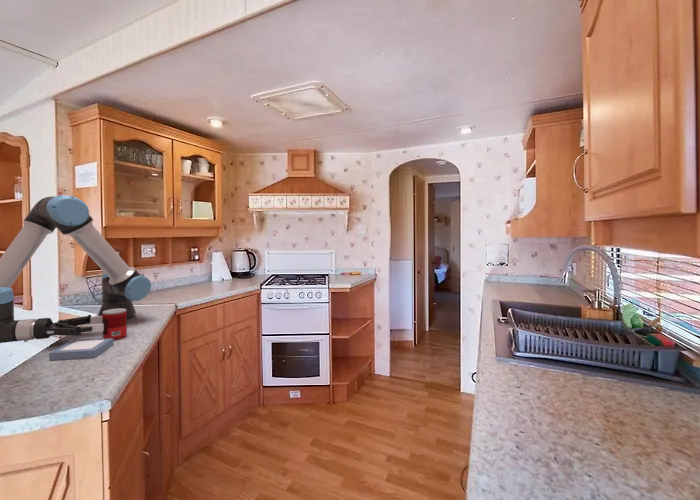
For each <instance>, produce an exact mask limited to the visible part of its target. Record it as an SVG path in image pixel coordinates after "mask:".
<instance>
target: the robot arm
mask: <svg viewBox="0 0 700 500" xmlns="http://www.w3.org/2000/svg"><path fill="white" fill-rule="evenodd" d="M93 222H94V219H93V216H91V215H90V209H89V206H88V205H87V204H86V203H85V202H84V201H83V200H82V199H80V198H78V197H76V196H71V195H65V194H64V195H63V194H61V195H57V196H54V195H53V196H46V197H44V198H41V199H40V200H38V201H37V202H36V203H35V204H34V206H33V207H32V208H31V210H30V211H29V212H28V214H27V216H26V217H25V218H24V220H23V221H22V223H23V226H22V228H21V229H20V230H19V232H18V234H16V236H15V238H14V239H13V240H12V242H11V243H10V244H9V246H8V247H7V249H6V250H5V251H4V253H3V254H2V256H1V257H0V344H4V343H5V344H6V343H11V342H12V343H13V342H22V341H23V342H24V343H27V342H28V341H33V340H44V339H49V338H51V336H63V337H64V336H65V337H66V336H68V337H69V336H71V337H72V336H74V337H75V336H77V337H80V336H82V334H87V333H90V334H91V333H97V332H103V331H104V324H103V321H102V313H103V311H105V310H109V309H118V308H123V309H126V311H127V320H129V319H132V318H135V317H136V316H137V313H136V312H137V311H136V308H135V306H134V304H133V302H134V301H136V302H138V301H141V300H144V299H145V298H146V297H147V296H148V295H150V292H151V288H152V282H151V280H150V279H149V278H148V277H146V276H145V275H141V274H140V272H139V271H138V270H137V268H135V267H134V266H129V265H128V264H127V263H126V262H125V261H124V260H123V258H122V257H121V256H120V255H119V254H118V253H117V252H116V250H115V249H114V248H113V246H111V244H110V243H109V242H108V241H107V240H106V239H105V237H104V236H103V235H102V233H100V231H98V229H97V228H96V227H95V226H94V225H93ZM56 229H57V230H58V231H59V232H60V233H61V234H62V235H63V236H70V237H71V238H72V240H73V241H75V242H76V244H77V245H78V246H79V247H80V248H81V249H82V250H83V251H84V252H85V253H86V254H87V256H89V257H90V259H92V261H93V262H94V263H95V264H96V265H97V267H98V268H100V269H101V270H102V271H103V273H102V275H101V292H102V293H101V296H102V299H101V300H102V304H101V306H100V310H99V312H98V313H97V316H92V315H91V314H88V315H86V316H78V317H71V318H66V319H59V320H58V321H57V322H53V319H52V318H50V317H43V318H28V319H15V313H14V312H15V295H14V290H13V288H11V287H12V286H13V285H14V283H15V282H16V280H17V279H18V278H19V276H20V274H21V273H22V271H23V270H24V269H25V267H26V266H27V265H28V263H29V262H30V260H31V259H32V257H33V256H34V255H35V253H36V252H37V250H38V249H39V248H40V246H41V244H42V243H43V241H44V240H45V239H46V237H47V236H48V235H50V234H53V232H54V231H55V230H56Z"/></svg>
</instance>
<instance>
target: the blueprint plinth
mask: <svg viewBox="0 0 700 500" xmlns="http://www.w3.org/2000/svg"><path fill="white" fill-rule="evenodd" d="M112 346H114V340H113V338H109V339H103V338H92V339H88V338H87V339H73V340H71V341H69V342H67V343H66V344H63V345H61V346H59V347H58V348H56V349H55V350H52V351H50V352H49V353H48V355H49V356H48V358H49V361H63V360H79V359H80V360H81V359H94V358H95V359H96V358H97V357H98V356H100V355H102V354H103V353H105V351H107V350H108V349H109V348H111V347H112Z"/></svg>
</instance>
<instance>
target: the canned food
mask: <svg viewBox="0 0 700 500" xmlns="http://www.w3.org/2000/svg"><path fill="white" fill-rule="evenodd" d="M102 321H103V323H102V324H104V331H102V339H109V338H113V341H115V340H120V339H124V338H125V337H127V334H128V325H127V324H128V319H127V311H126V309H123V308H118V309H109V310H105V311H103V313H102Z"/></svg>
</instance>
